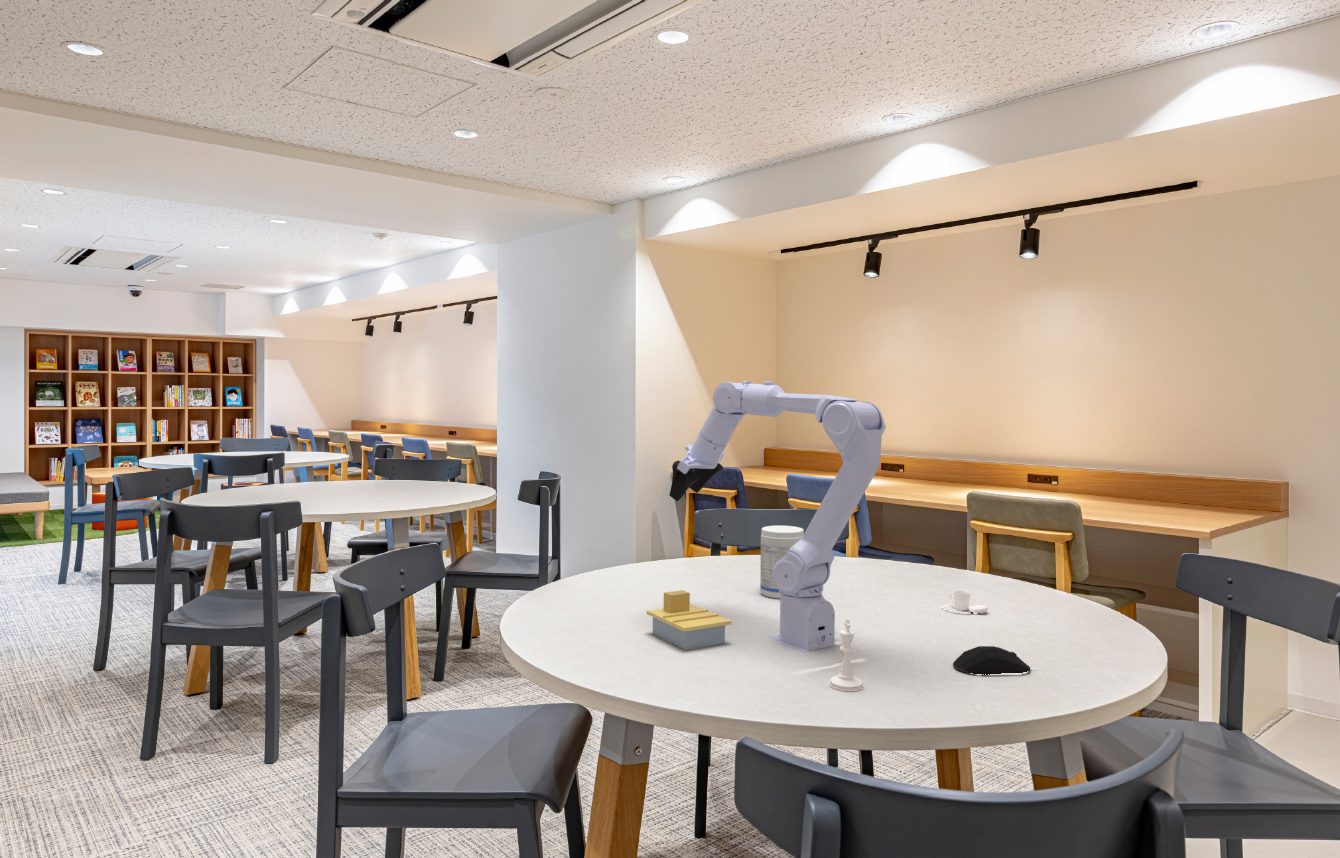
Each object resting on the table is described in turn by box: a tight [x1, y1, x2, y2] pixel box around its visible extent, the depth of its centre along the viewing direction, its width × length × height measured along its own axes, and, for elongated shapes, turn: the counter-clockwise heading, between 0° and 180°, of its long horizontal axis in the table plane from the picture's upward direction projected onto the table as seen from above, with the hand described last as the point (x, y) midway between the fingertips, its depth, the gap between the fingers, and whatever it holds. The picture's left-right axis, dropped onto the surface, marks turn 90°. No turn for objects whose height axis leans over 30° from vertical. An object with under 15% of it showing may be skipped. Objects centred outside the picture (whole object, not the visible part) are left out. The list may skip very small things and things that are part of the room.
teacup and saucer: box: [941, 590, 989, 614], centre depth 166 cm, size 9×8×4 cm
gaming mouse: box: [952, 645, 1031, 675], centre depth 129 cm, size 6×15×4 cm, turn 92°
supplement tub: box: [759, 525, 805, 600], centre depth 177 cm, size 10×10×15 cm
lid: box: [646, 589, 733, 632], centre depth 141 cm, size 13×10×4 cm
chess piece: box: [828, 618, 864, 693], centre depth 120 cm, size 5×5×10 cm
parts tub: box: [652, 617, 726, 651], centre depth 141 cm, size 11×8×4 cm
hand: (683, 493), depth 159 cm, fingers open, 7 cm apart
